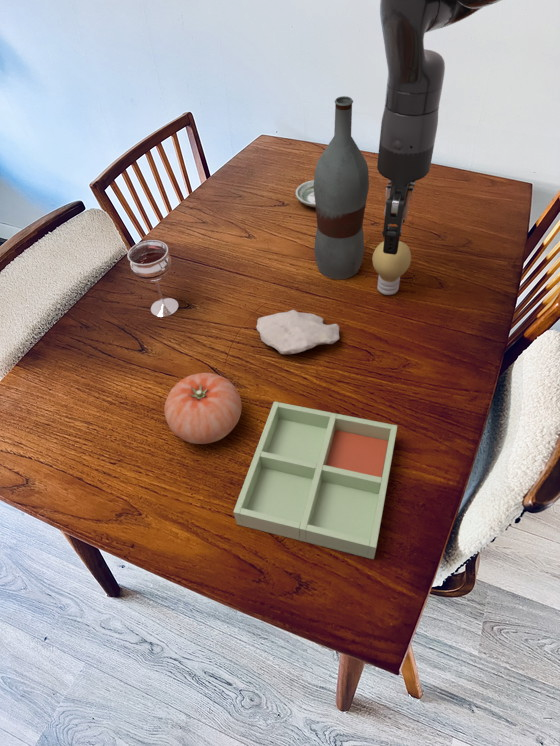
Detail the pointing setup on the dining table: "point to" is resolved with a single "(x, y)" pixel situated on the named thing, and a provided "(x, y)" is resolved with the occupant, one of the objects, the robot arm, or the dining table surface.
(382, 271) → the light bulb
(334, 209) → the bottle
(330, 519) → the grid
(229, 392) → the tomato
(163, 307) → the wineglass
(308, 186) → the saucer
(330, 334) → the decorative stone
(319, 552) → the dining table surface
